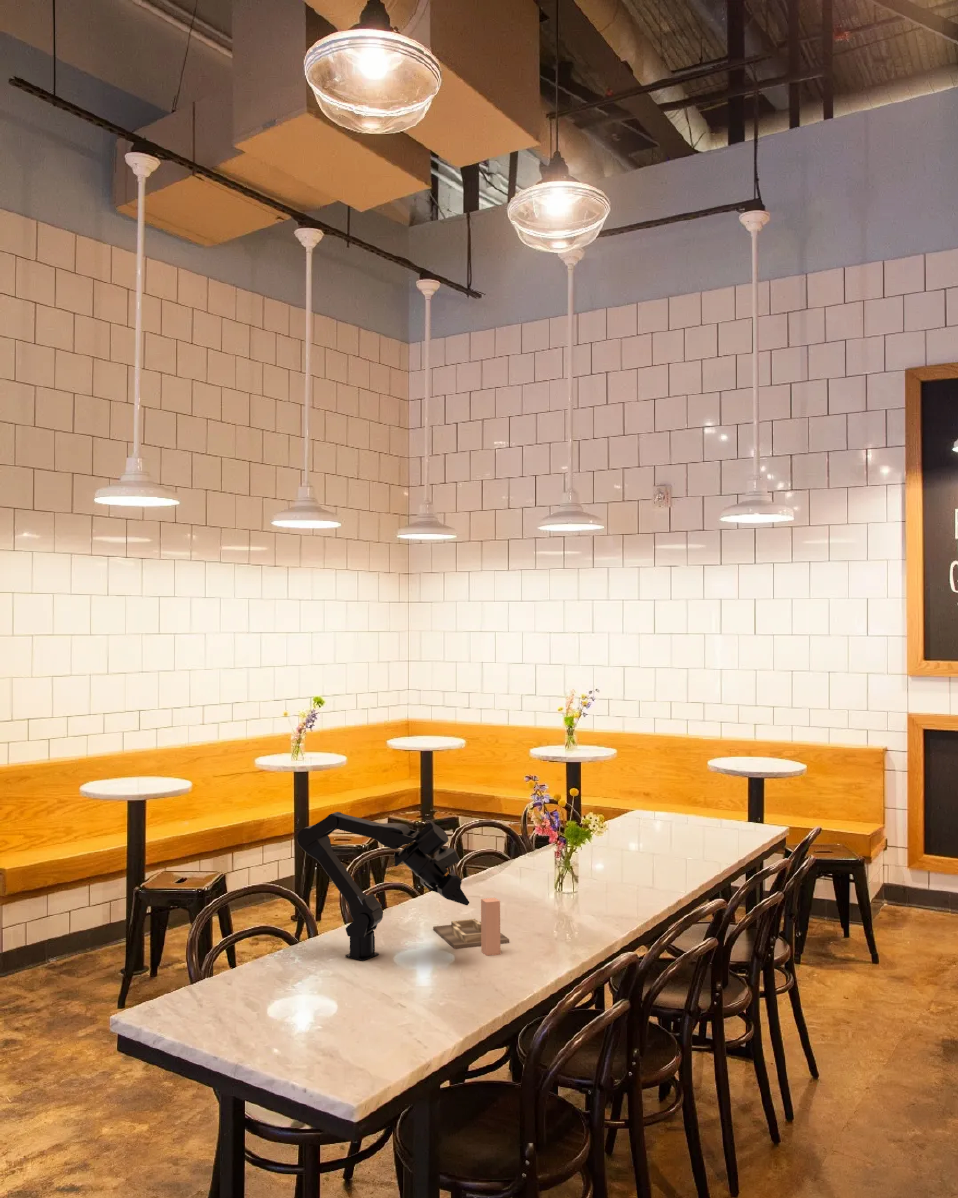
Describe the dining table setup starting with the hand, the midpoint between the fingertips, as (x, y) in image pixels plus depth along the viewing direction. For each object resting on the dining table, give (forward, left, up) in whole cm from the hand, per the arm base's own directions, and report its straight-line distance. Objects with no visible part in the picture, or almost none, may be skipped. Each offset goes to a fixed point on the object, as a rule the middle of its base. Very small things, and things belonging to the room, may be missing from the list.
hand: (461, 900), depth 270 cm
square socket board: (+15, +8, -14) cm, 22 cm away
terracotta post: (+5, -6, -14) cm, 16 cm away
